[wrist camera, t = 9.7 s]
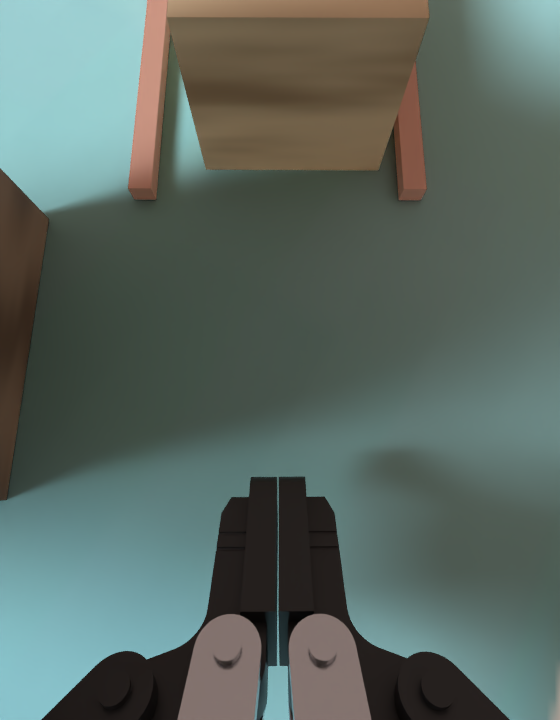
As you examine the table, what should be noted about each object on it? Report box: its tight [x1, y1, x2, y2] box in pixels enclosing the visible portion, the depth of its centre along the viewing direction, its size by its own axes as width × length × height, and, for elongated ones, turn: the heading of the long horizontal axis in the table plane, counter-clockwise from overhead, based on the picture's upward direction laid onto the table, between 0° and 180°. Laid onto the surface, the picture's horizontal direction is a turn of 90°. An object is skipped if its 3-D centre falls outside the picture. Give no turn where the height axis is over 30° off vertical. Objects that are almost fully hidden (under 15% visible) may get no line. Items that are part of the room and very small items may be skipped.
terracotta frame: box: [128, 0, 427, 200], centre depth 20 cm, size 14×13×1 cm
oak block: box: [167, 0, 429, 171], centre depth 17 cm, size 10×8×7 cm
